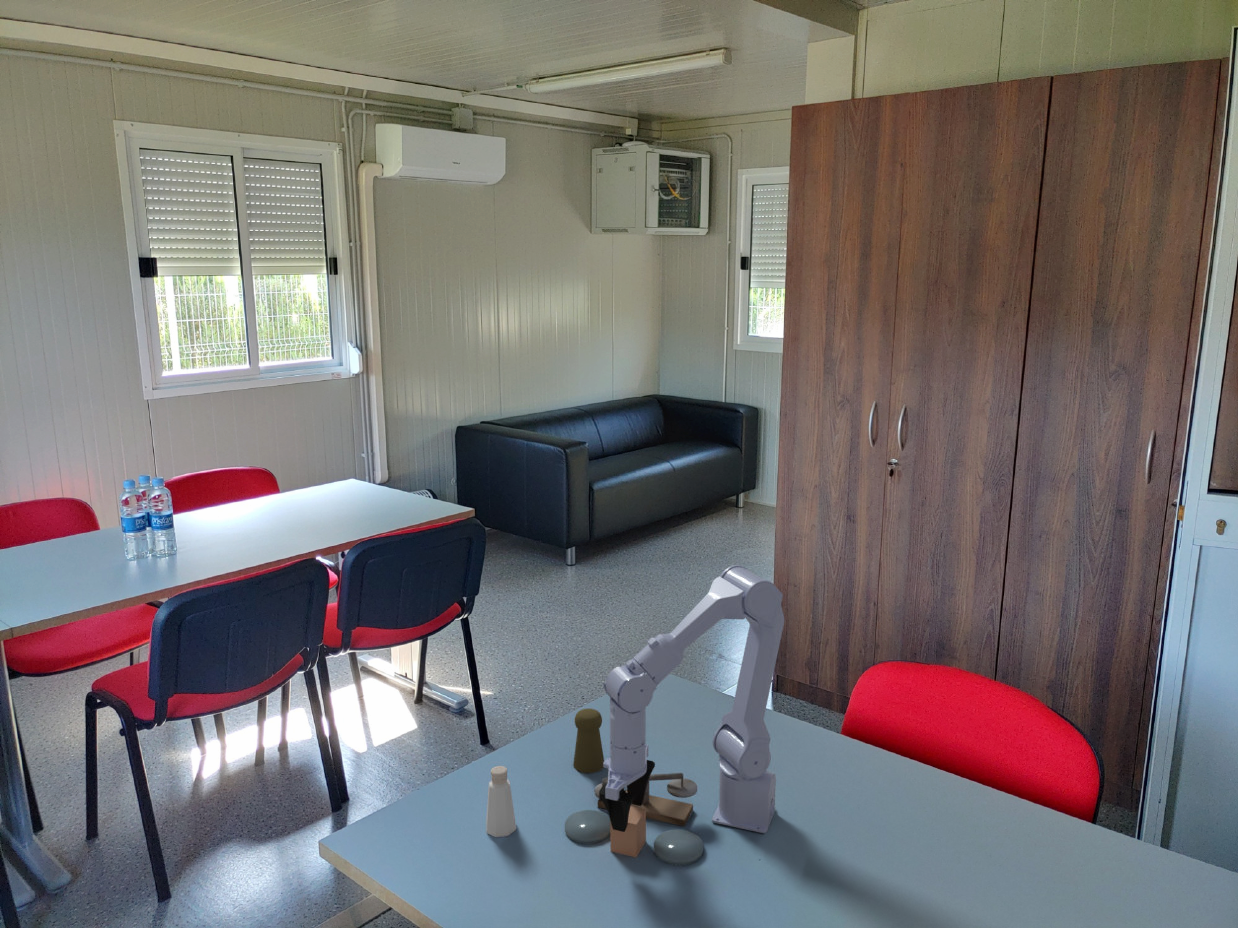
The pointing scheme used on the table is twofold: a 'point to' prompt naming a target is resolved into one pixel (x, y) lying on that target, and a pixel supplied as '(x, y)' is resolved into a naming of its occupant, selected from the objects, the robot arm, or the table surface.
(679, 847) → the smooth grey pebble
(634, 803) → the robot arm
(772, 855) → the table surface
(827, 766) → the table surface
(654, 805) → the balance
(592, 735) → the cork
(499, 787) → the salt shaker
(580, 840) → the grey dome
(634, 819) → the block
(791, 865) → the table surface
